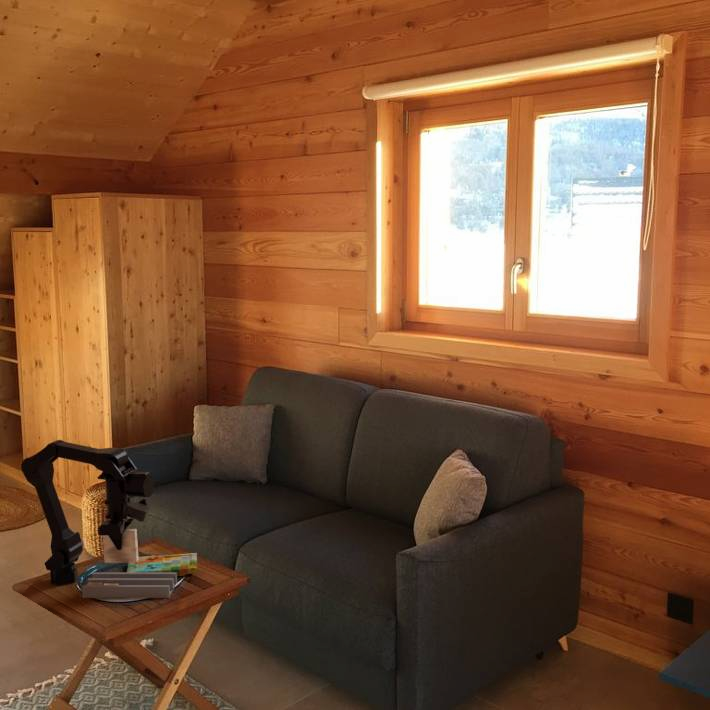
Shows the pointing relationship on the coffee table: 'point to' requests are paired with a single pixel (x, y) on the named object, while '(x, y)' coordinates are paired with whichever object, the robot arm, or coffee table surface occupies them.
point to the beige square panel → (128, 548)
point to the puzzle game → (166, 564)
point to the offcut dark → (95, 583)
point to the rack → (131, 585)
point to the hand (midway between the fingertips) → (120, 548)
